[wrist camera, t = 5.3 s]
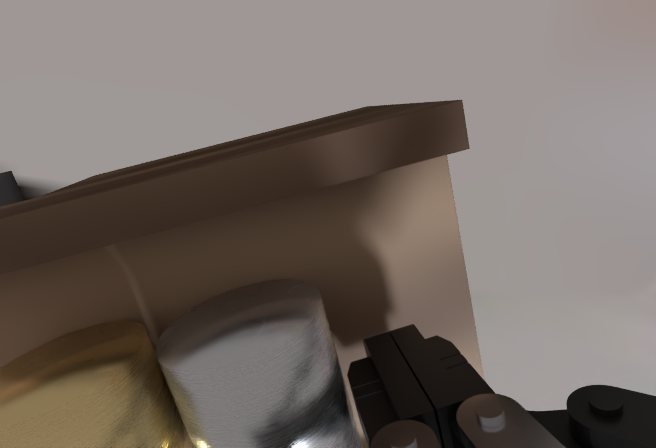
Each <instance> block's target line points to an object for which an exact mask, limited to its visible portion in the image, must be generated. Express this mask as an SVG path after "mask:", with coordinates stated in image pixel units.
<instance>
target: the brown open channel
mask: <svg viewBox="0 0 656 448" xmlns="http://www.w3.org/2000/svg"><path fill="white" fill-rule="evenodd" d="M465 123H466V122H465V116H464V109H463V103H462V100H454V101H440V102H425V103H410V104H396V105H383V106H382V105H381V106H367V107H363V108H360V109H356V110H352V111H347V112H344V113H340V114H336V115H332V116H328V117H324V118H320V119H316V120H312V121H308V122H304V123H300V124H296V125H292V126H288V127H285V128H281V129H276V130H273V131H269V132H265V133H261V134H257V135H253V136H249V137H245V138H241V139H237V140H233V141H229V142H225V143H221V144H217V145H214V146H210V147H206V148H202V149H198V150H194V151H190V152H186V153H182V154H178V155H174V156H170V157H166V158H163V159H158V160H155V161H150V162H146V163H143V164H139V165H135V166H131V167H127V168H123V169H119V170H115V171H111V172H108V173H103V174H99V175H96V176H92V177H90V178H87V179H85V180H82V181H79V182H77V183H74V184H72V185H69V186H66V187H64V188H61V189H59V190H56V191H54V192H51V193H48V194H46V195H43V196H41V197H37V198H33V199H29V200H25V201H21V202H17V203H13V204H9V205H5V206H1V207H0V368H1V367H3V366H4V365H6V364H8V363H9V362H11V361H13V360H14V359H16V358H18V357H20V356H21V355H23V354H25V353H27V352H29V351H31V350H33V349H35V348H37V347H39V346H41V345H43V344H45V343H47V342H50V341H52V340H54V339H56V338H59V337H61V336H64V335H66V334H69V333H72V332H75V331H77V330H81V329H84V328H87V327H90V326H94V325H98V324H102V323H107V322H113V321H127V320H128V321H136V322H139V323H141V324H143V325H144V326H145V328H146V330H147V333H148V335H149V338H150V340H151V343H152V345H153V348H154V350H155V348H156V344H157V342H158V340H159V338H160V336H161V335H162V334H163V332H164V331H165V330H166V329H167V328H168V327H169V326H170V325H171V324H172V323H173V322H174V321H175V320H176V319H178V318H179V317H180V316H182V315H183V314H184V313H186V312H187V311H189V310H190V309H192V308H194V307H195V306H197V305H199V304H201V303H203V302H205V301H207V300H209V299H211V298H213V297H215V296H217V295H220V294H222V293H225V292H227V291H230V290H233V289H236V288H239V287H242V286H246V285H249V284H253V283H258V282H263V281H269V280H280V279H293V280H301V281H305V282H308V283H310V284H312V285H314V286H315V287H316V288H317V289H318V290H319V292H320V294H321V298H322V301H323V305H324V308H325V312H326V315H327V319H328V323H329V326H330V330H331V333H332V337H333V341H334V344H335V348H336V351H337V355H338V359H339V362H340V366H341V369H342V373H343V377H344V380H345V384H346V387H347V391H348V395H349V398H350V402H351V405H352V409H353V413H354V416H355V420H356V423H357V427H358V431H359V434H360V438H361V441H362V445H363V448H368V445H367V442H366V439H365V435H364V433H363V430H362V426H361V423H360V420H359V417H358V413H357V409H356V406H355V402H354V398H353V395H352V391H351V388H350V384H349V380H348V377H347V373H348V370H349V367H350V363H351V362H353V361H356V360H359V359H363V358H366V357H367V355H366V352H365V348H364V343H363V339H366V338H369V337H372V336H375V335H379V334H382V333H385V332H389V331H391V330H395V329H398V328H401V327H404V326H408V325H411V324H414V325H415V326H416V328H417V329H418V330H419V332H420V333H421V334H422V336H423V337H424V338H425V339H427V338H430V337H433V336H436V335H438V336H440V337H442V338H444V339H446V340H448V341H451V342H452V343H453V344H454V345H455V346H456V348H457V349H458V350H459V351H460V352H461V355H463V356H464V357H465V358H466V359H467V361H468V363H469V364H471V365H472V367H473V368H474V369H475V370H476V371H477V372H478V374H479V375H480V376H481V377H482V378H483V380H484V375H483V369H482V363H481V357H480V351H479V345H478V339H477V333H476V327H475V321H474V315H473V309H472V303H471V297H470V291H469V285H468V279H467V273H466V267H465V262H464V256H463V249H462V244H461V237H460V232H459V226H458V220H457V214H456V208H455V202H454V196H453V190H452V184H451V178H450V173H449V166H448V160H447V154H451V153H455V152H458V151H462V150H466V149H469V142H468V137H467V129H466V124H465Z"/></svg>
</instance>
